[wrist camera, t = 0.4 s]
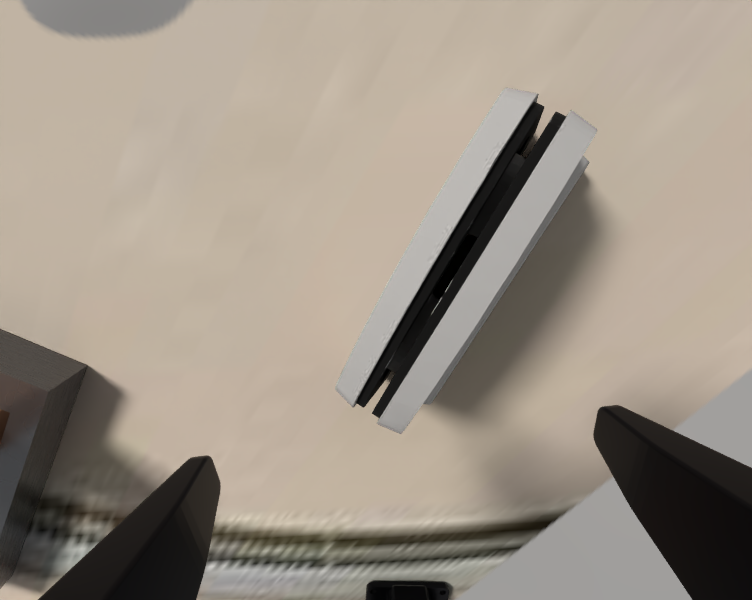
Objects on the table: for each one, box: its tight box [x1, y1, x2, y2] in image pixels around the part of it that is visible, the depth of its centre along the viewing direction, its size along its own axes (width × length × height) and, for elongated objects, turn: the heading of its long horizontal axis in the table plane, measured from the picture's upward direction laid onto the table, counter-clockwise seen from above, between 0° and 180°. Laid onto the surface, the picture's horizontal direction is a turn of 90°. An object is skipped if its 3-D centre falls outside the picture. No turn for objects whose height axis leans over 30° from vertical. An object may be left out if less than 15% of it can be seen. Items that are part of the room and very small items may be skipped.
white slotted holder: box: [335, 88, 597, 434], centre depth 18 cm, size 17×5×10 cm, turn 152°
